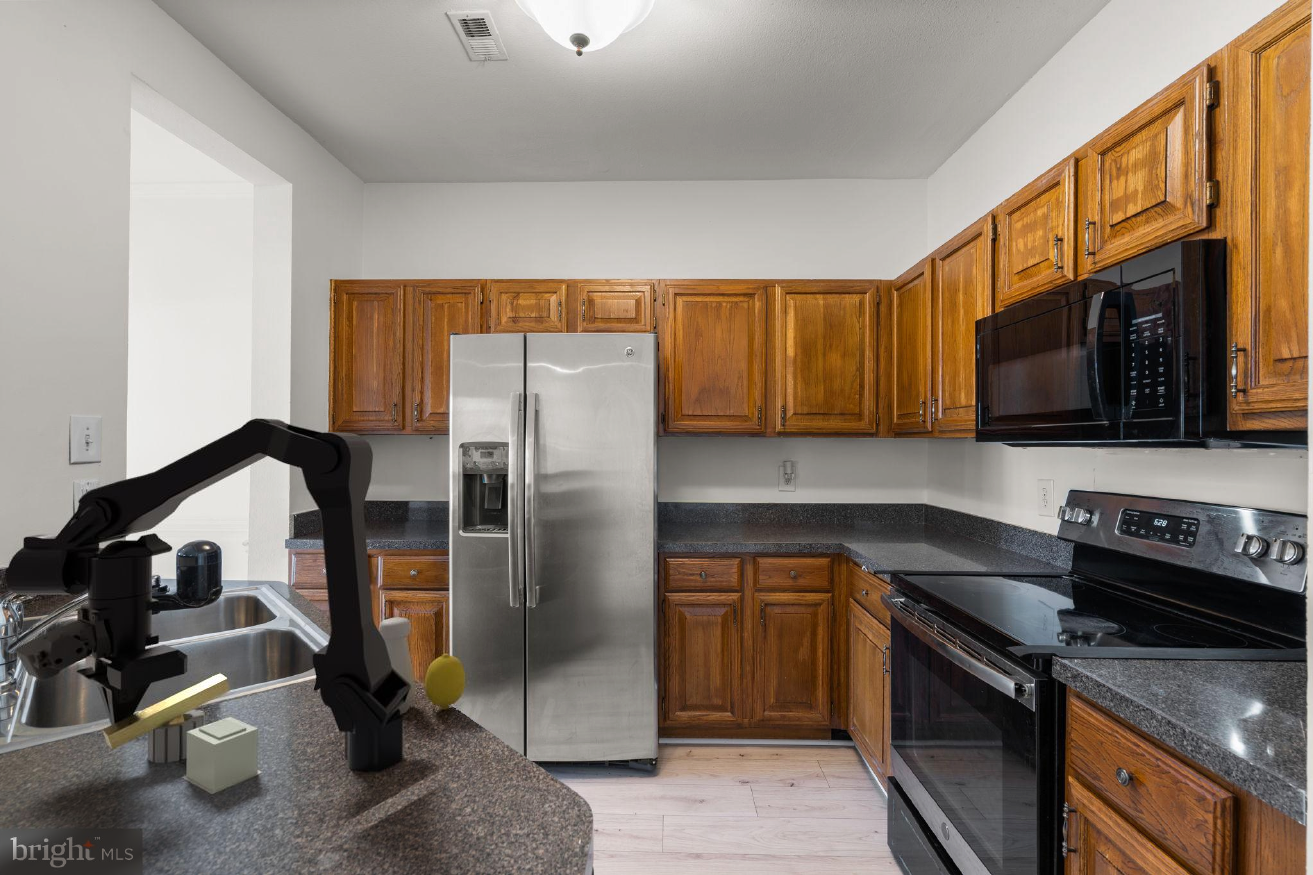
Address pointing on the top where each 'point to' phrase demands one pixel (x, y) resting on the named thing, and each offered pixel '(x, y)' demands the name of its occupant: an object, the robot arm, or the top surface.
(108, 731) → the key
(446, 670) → the lemon
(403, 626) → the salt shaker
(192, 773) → the pale green block
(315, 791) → the top surface
